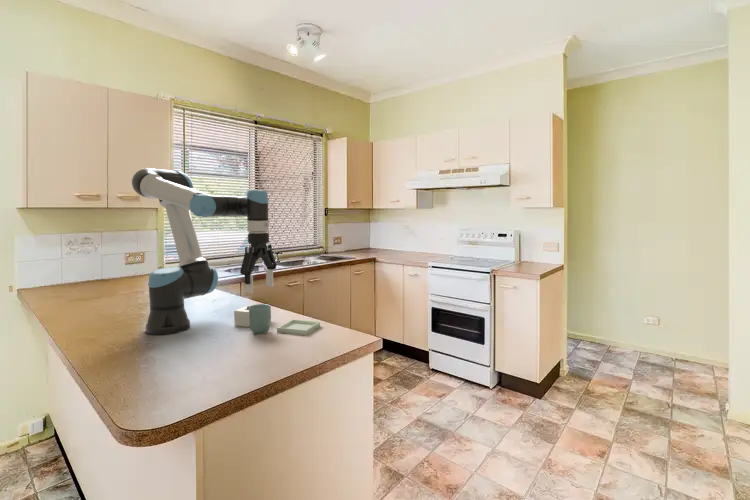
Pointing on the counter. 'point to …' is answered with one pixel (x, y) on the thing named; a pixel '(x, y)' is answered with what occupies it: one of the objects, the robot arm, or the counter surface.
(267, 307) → the cup
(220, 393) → the counter surface
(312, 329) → the tray
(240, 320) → the housing
